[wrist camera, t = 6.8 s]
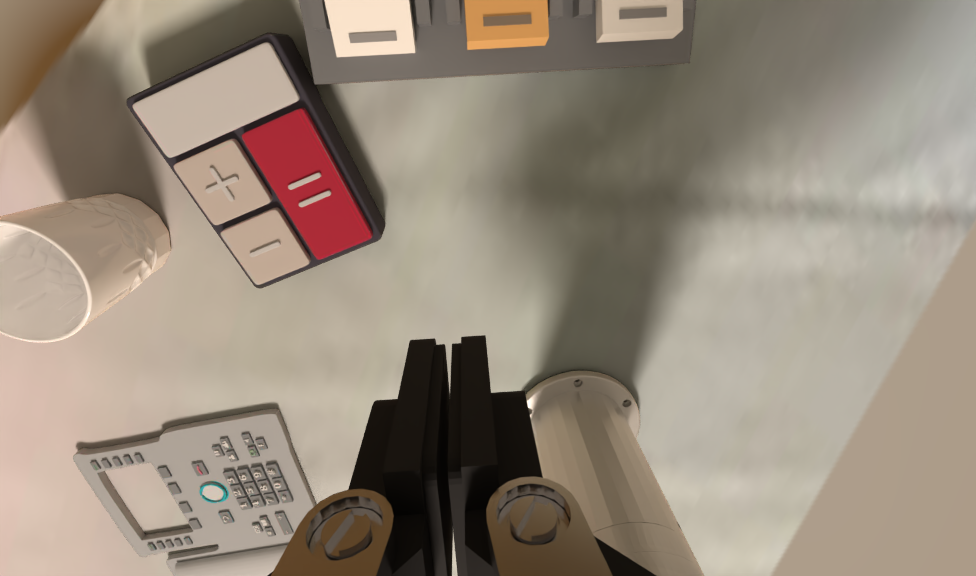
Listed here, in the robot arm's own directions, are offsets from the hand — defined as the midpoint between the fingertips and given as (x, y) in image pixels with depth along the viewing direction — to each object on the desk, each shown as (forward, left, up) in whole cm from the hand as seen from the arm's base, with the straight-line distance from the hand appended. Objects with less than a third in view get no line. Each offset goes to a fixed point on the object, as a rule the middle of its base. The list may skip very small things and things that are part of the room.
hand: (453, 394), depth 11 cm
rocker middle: (+11, -4, -24) cm, 27 cm away
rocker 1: (+11, +4, -24) cm, 27 cm away
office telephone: (-33, +27, -29) cm, 52 cm away
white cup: (-3, +26, -29) cm, 39 cm away
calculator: (+1, +14, -29) cm, 32 cm away
